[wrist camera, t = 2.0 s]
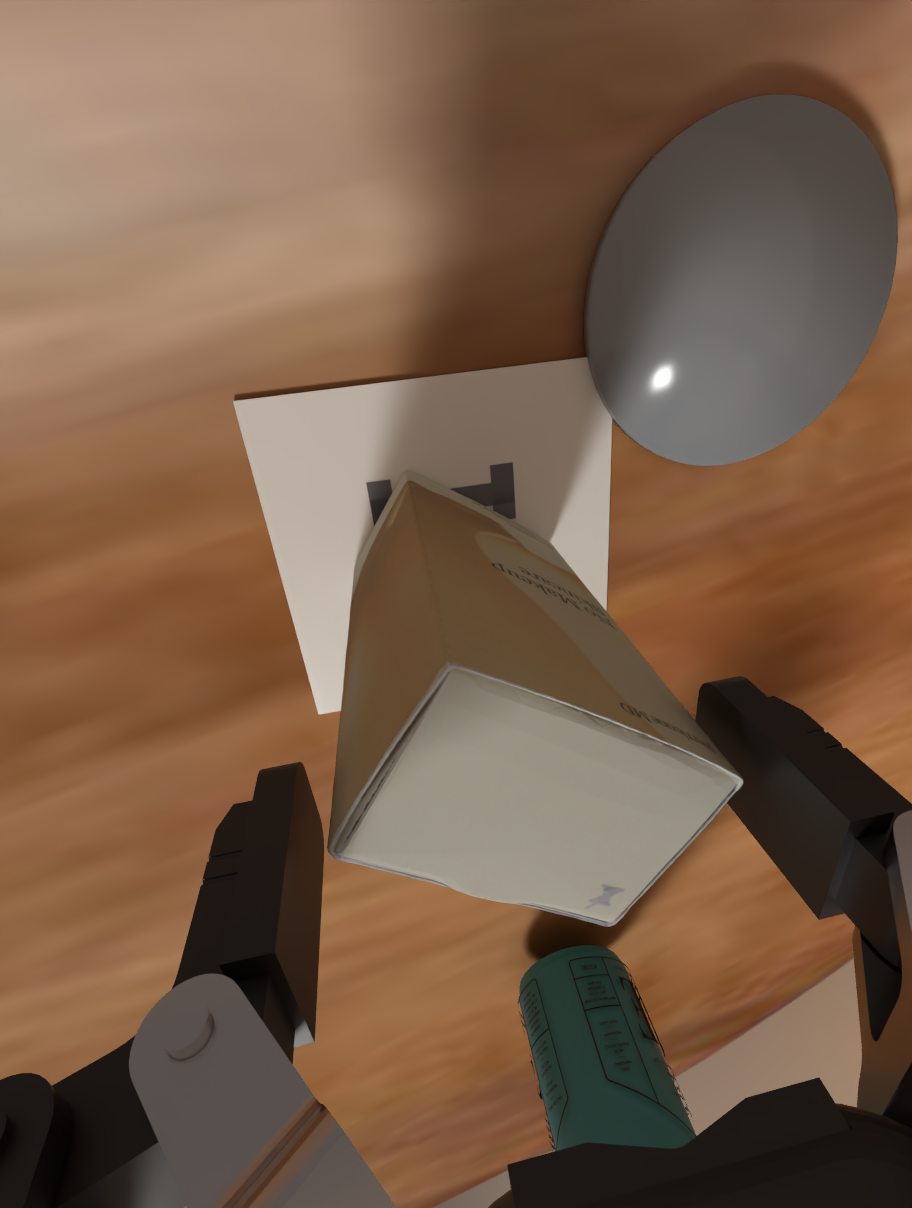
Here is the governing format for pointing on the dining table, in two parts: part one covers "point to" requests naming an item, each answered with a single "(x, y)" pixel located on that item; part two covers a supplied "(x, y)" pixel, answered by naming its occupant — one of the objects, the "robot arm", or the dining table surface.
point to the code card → (435, 451)
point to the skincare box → (506, 722)
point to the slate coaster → (741, 280)
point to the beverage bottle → (598, 1054)
